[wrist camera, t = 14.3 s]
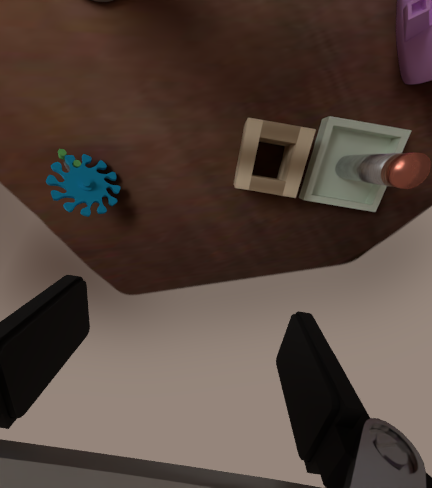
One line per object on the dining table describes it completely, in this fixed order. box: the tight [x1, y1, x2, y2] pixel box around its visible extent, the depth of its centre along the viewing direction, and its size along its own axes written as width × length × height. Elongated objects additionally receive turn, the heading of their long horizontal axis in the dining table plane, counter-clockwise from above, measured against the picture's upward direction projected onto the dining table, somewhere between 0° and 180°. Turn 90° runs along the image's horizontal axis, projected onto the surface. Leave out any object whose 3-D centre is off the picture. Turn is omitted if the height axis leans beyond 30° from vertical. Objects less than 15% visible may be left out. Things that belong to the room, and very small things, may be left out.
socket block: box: [234, 118, 316, 198], centre depth 32 cm, size 9×9×6 cm
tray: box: [299, 116, 411, 212], centre depth 34 cm, size 12×12×2 cm
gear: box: [46, 149, 120, 217], centre depth 36 cm, size 11×6×10 cm
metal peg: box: [335, 153, 431, 189], centre depth 28 cm, size 4×4×13 cm
